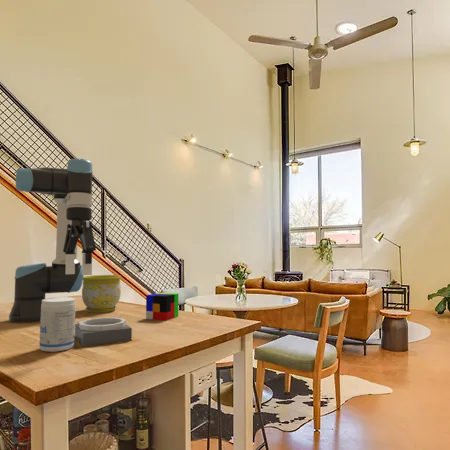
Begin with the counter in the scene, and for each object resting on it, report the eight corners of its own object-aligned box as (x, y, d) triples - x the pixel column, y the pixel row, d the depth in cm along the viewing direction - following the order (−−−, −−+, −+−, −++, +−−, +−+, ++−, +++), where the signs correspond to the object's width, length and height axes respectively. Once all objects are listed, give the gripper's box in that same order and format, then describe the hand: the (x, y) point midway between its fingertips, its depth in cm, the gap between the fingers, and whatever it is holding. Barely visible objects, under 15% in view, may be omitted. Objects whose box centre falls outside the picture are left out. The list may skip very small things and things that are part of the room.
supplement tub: (33, 348, 112) (35, 299, 113) (64, 342, 119) (65, 296, 120) (48, 354, 105) (50, 302, 106) (80, 347, 113) (81, 298, 114)
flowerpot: (128, 310, 180) (128, 276, 181) (94, 315, 167) (94, 278, 168) (107, 306, 192) (108, 274, 193) (74, 311, 179) (74, 276, 180)
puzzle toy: (146, 319, 159) (146, 295, 159) (158, 315, 168) (158, 292, 169) (166, 320, 155) (166, 296, 156) (178, 316, 164) (178, 293, 165)
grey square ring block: (74, 336, 128) (75, 319, 128) (118, 331, 135) (119, 315, 136) (82, 346, 114) (83, 328, 114) (131, 340, 121) (131, 323, 122)
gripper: (53, 210, 126) (52, 274, 124) (83, 201, 108) (81, 275, 106) (76, 212, 131) (74, 273, 129) (107, 204, 113) (107, 274, 111)
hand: (78, 274), depth 117 cm, fingers open, 13 cm apart
